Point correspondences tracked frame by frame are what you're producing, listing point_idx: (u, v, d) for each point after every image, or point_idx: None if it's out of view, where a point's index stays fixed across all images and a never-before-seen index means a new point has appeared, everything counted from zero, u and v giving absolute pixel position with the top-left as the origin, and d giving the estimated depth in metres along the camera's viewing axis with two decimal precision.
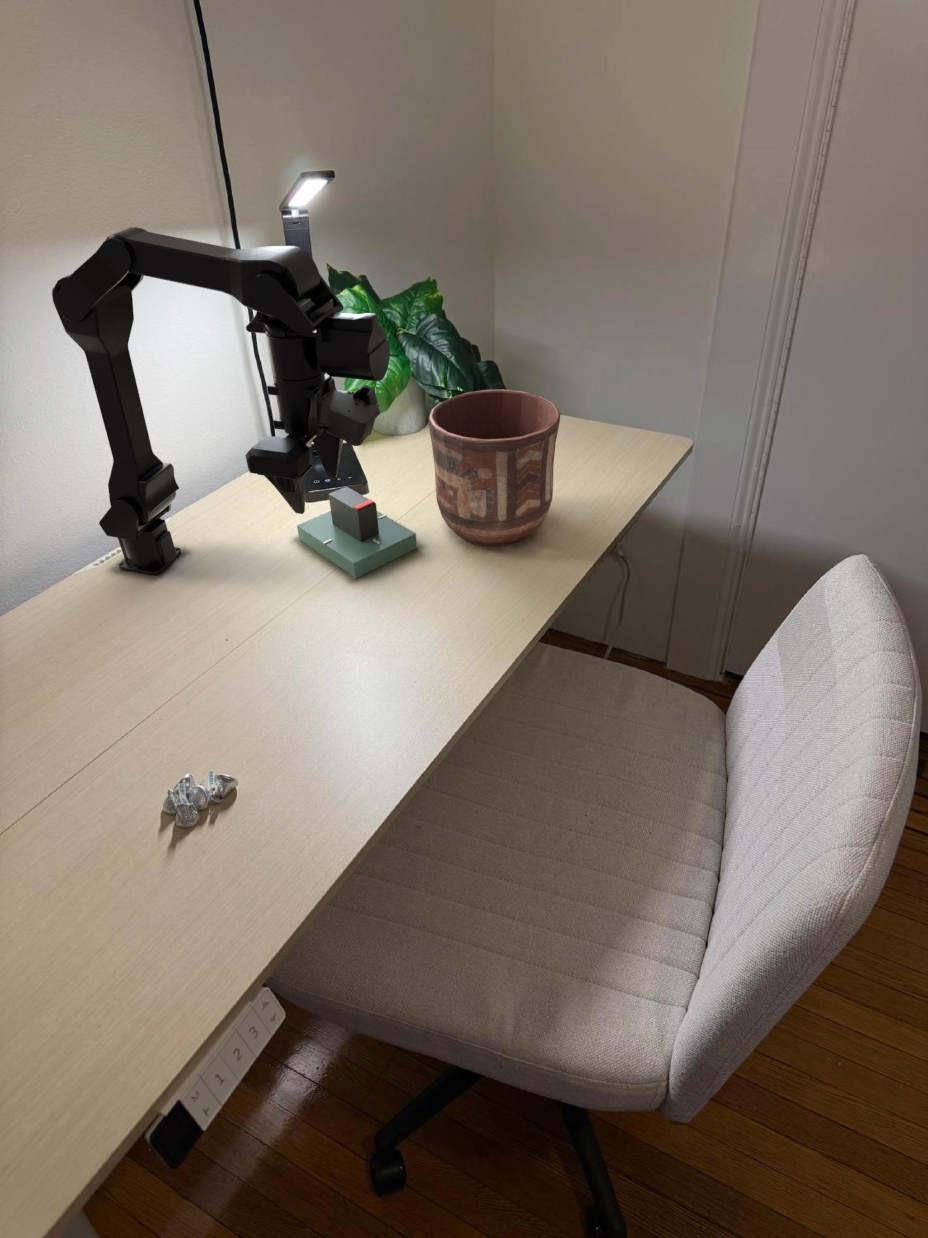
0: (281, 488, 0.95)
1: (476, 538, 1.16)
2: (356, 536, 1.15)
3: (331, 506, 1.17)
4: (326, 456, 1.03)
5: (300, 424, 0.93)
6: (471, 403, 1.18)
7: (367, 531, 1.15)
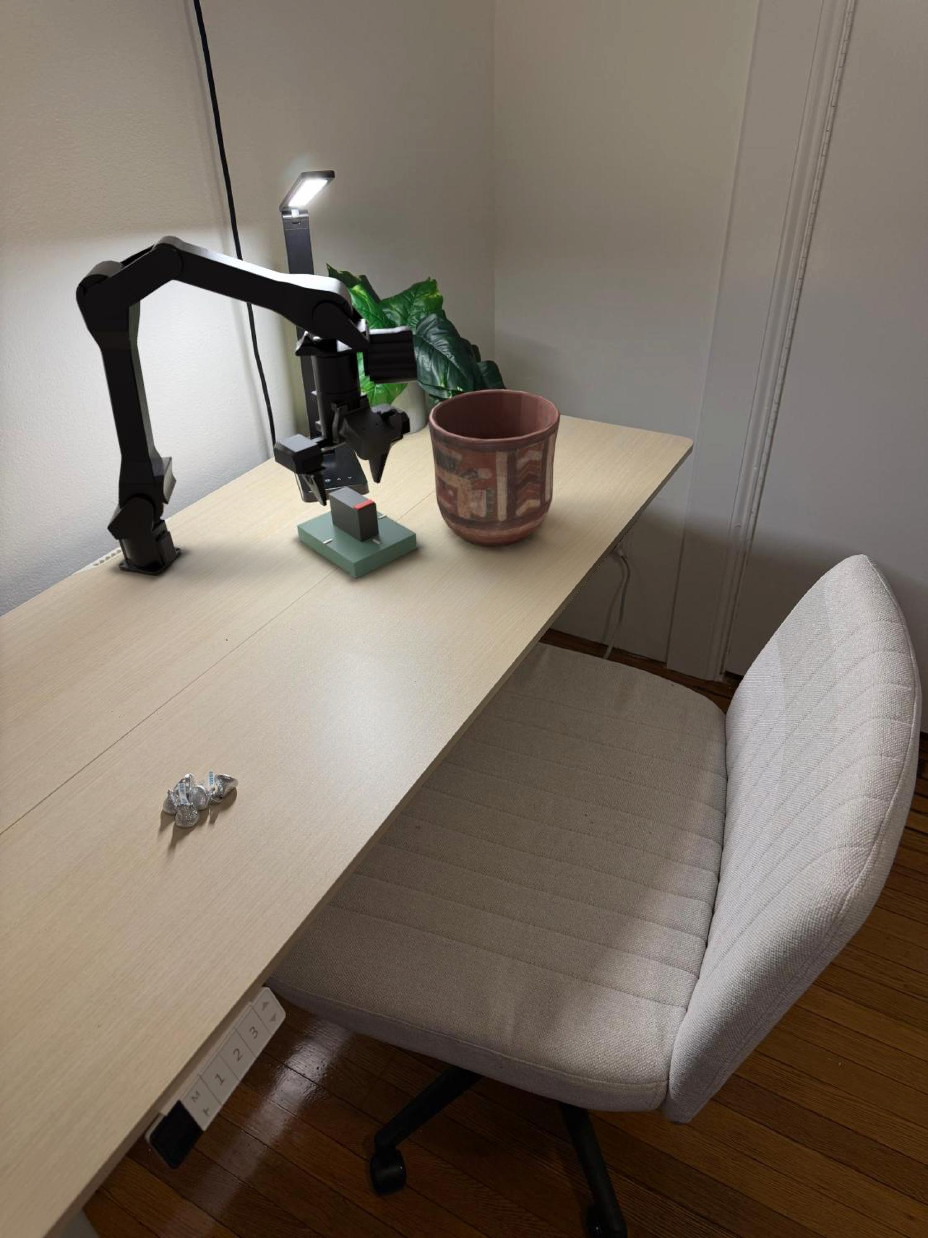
0: (307, 480, 1.10)
1: (476, 538, 1.16)
2: (356, 536, 1.15)
3: (331, 506, 1.17)
4: (373, 462, 1.16)
5: (328, 430, 1.06)
6: (471, 403, 1.18)
7: (367, 531, 1.15)
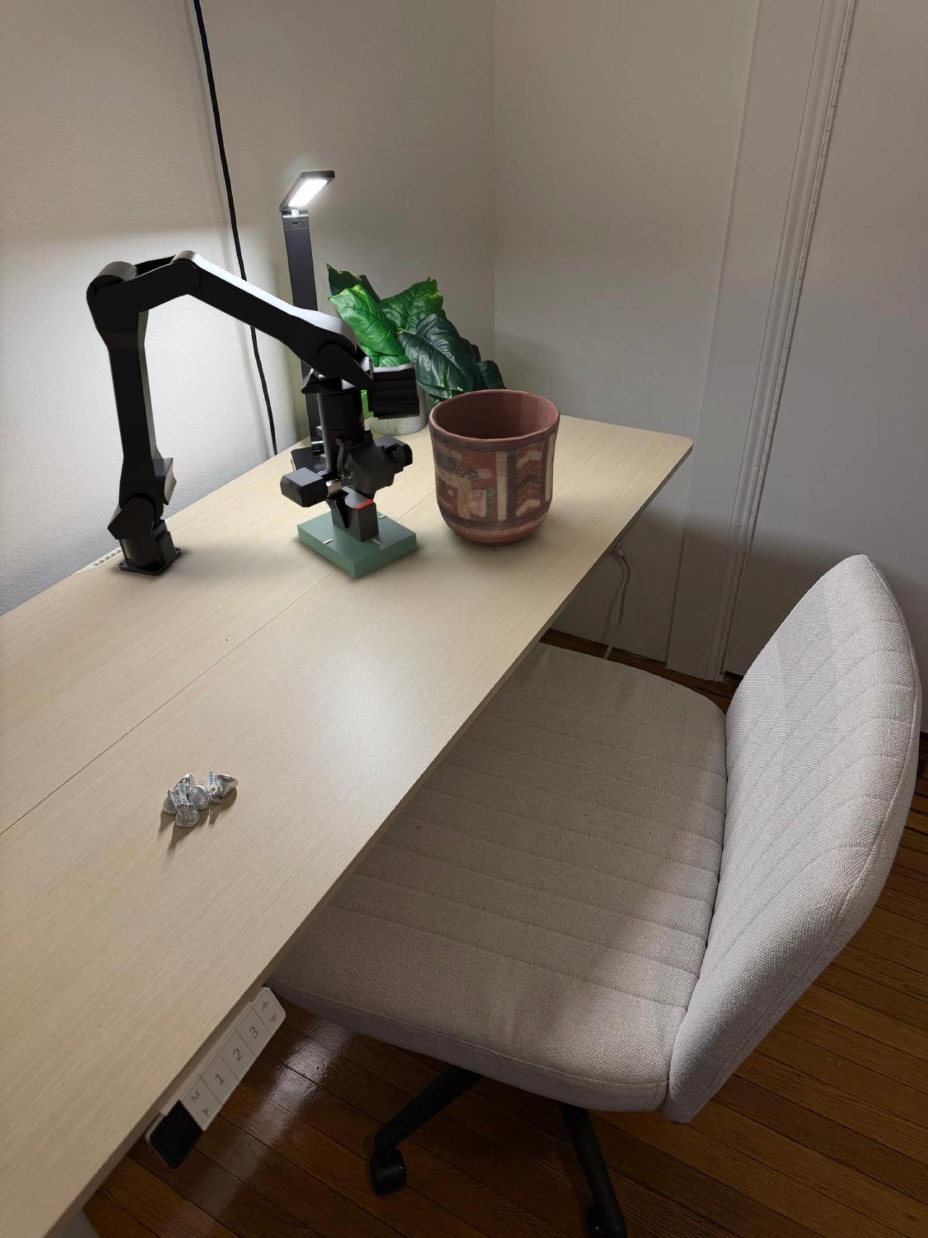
0: (329, 504, 1.14)
1: (476, 538, 1.16)
2: (356, 536, 1.15)
3: None
4: None
5: (333, 464, 1.09)
6: (471, 403, 1.18)
7: (367, 531, 1.15)
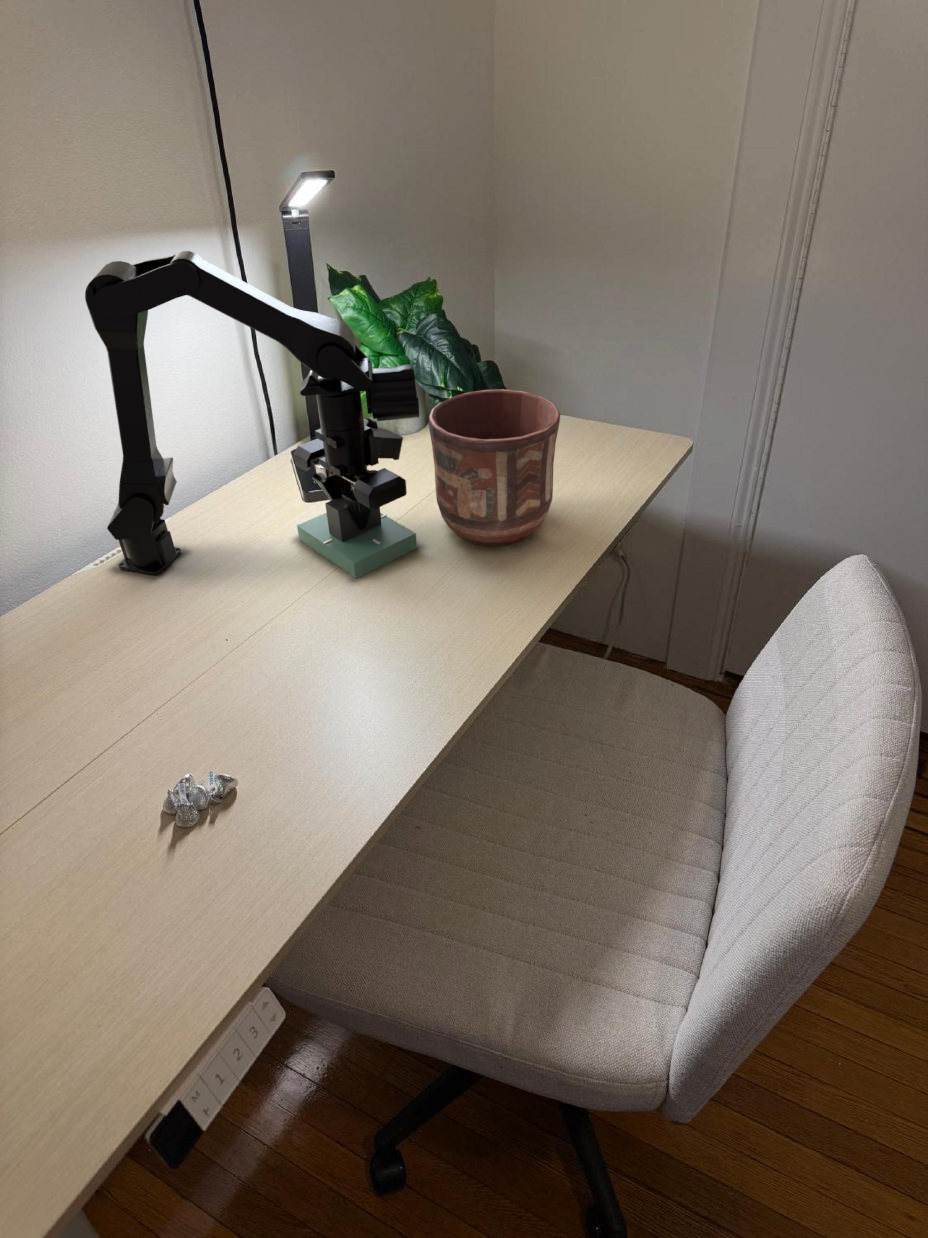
0: (358, 511, 1.13)
1: (476, 538, 1.16)
2: (375, 523, 1.18)
3: (342, 522, 1.14)
4: None
5: (363, 461, 1.10)
6: (471, 403, 1.18)
7: None
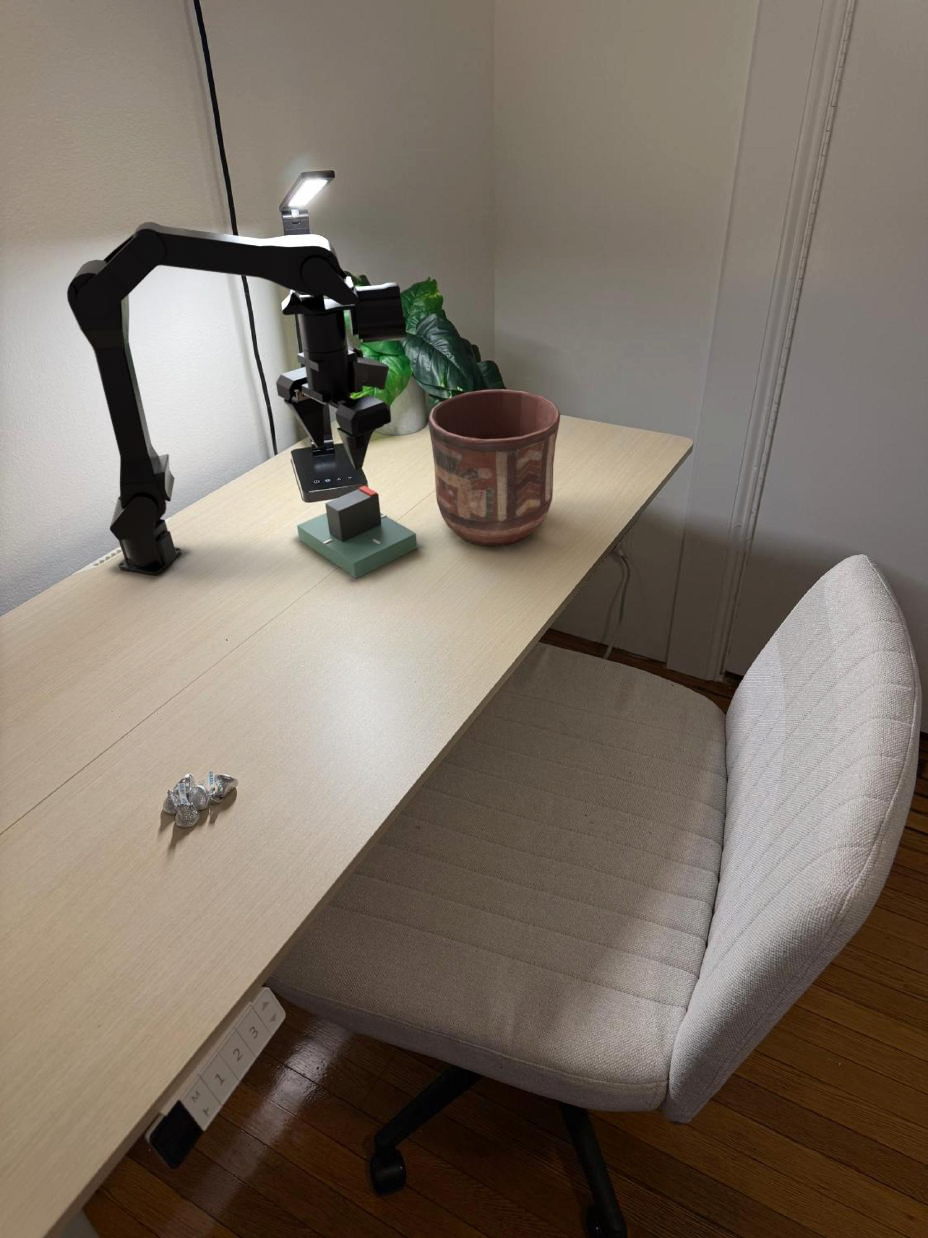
0: (354, 448, 1.07)
1: (476, 538, 1.16)
2: (375, 523, 1.18)
3: (342, 522, 1.14)
4: (314, 428, 1.15)
5: (347, 387, 1.06)
6: (471, 403, 1.18)
7: None
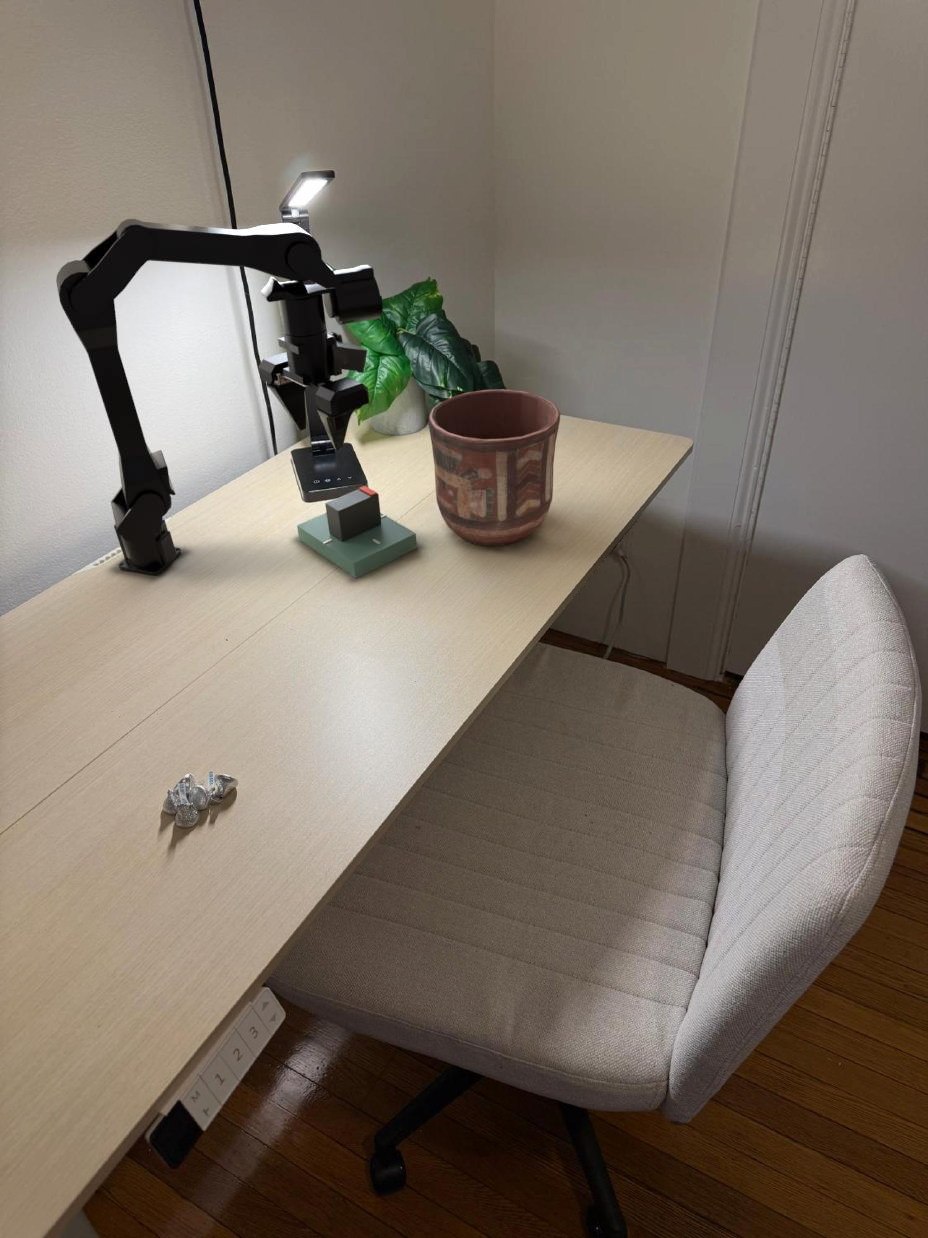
0: (334, 428, 1.12)
1: (476, 538, 1.16)
2: (375, 523, 1.18)
3: (342, 522, 1.14)
4: (296, 411, 1.19)
5: (326, 370, 1.10)
6: (471, 403, 1.18)
7: None
